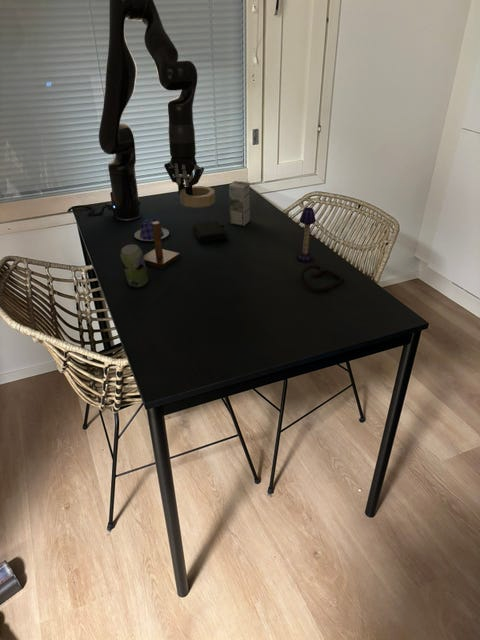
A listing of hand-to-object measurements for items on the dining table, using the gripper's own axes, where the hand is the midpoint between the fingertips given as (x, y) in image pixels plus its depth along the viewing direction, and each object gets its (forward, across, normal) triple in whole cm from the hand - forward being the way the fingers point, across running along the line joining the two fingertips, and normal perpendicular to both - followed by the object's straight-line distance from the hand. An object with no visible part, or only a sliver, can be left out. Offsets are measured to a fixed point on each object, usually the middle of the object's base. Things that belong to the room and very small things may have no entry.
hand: (185, 197), depth 152 cm
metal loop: (+18, -46, 0) cm, 49 cm away
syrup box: (+18, -3, -28) cm, 34 cm away
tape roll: (+1, -4, 0) cm, 4 cm away
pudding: (+18, +18, -4) cm, 26 cm away
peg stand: (+18, +4, +10) cm, 21 cm away
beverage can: (+18, 0, +26) cm, 32 cm away
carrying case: (+18, 0, -14) cm, 23 cm away
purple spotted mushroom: (+18, -36, -12) cm, 42 cm away
